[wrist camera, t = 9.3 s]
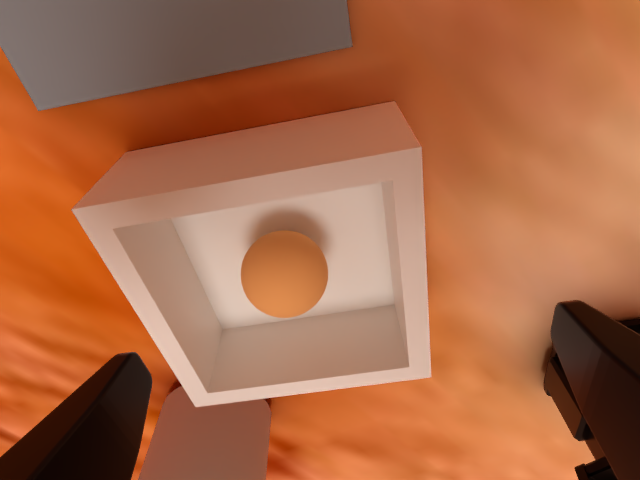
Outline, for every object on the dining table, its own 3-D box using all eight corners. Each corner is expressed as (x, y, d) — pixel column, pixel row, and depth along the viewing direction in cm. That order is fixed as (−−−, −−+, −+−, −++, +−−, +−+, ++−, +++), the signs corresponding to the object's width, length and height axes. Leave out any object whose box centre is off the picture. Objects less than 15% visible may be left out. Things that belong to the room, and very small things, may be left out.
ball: (318, 207, 19) (320, 259, 16) (332, 272, 21) (336, 330, 18) (236, 221, 19) (221, 275, 16) (259, 283, 22) (249, 342, 18)
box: (394, 100, 17) (421, 146, 13) (410, 304, 24) (431, 377, 20) (125, 151, 18) (71, 209, 14) (214, 332, 25) (195, 407, 21)
